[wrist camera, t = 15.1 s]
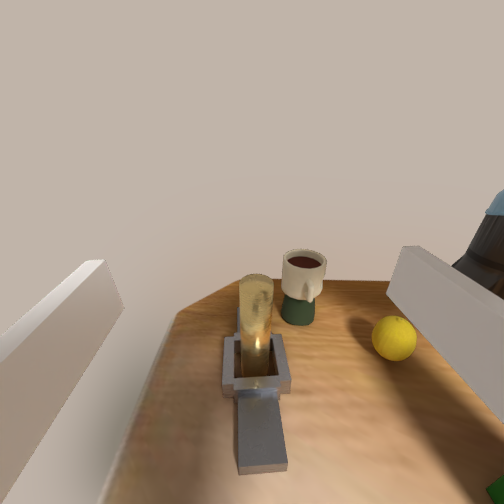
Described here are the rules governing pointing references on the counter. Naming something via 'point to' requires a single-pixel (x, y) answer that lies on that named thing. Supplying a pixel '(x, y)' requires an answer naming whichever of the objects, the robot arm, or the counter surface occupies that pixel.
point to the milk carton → (497, 491)
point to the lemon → (394, 338)
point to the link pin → (255, 323)
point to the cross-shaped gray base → (258, 408)
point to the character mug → (301, 284)
